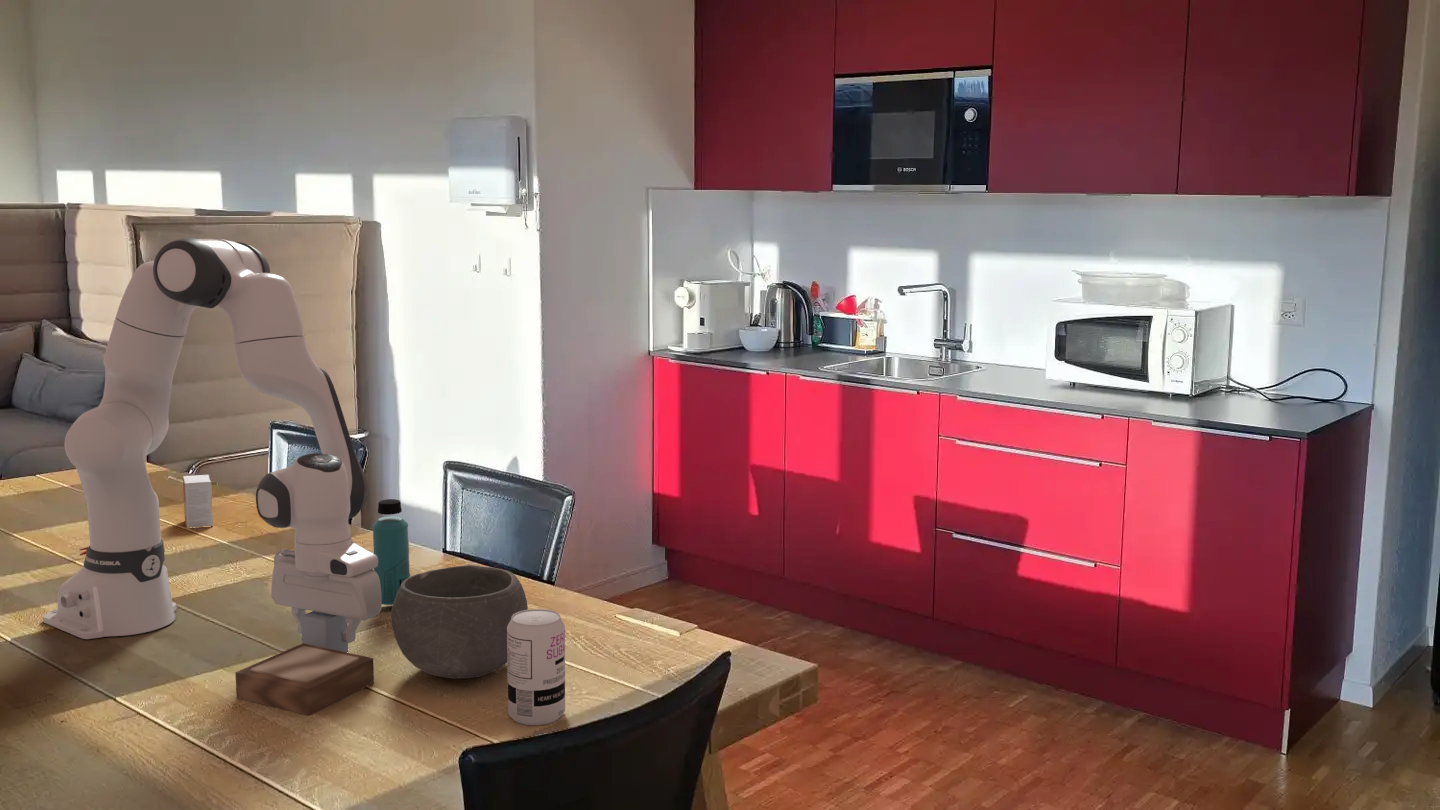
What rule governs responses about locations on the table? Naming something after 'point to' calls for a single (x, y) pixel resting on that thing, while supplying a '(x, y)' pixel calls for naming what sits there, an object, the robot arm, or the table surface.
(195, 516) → the small box
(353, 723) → the table surface
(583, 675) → the table surface
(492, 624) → the bowl
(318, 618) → the block
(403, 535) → the beverage bottle
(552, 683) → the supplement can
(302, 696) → the base
